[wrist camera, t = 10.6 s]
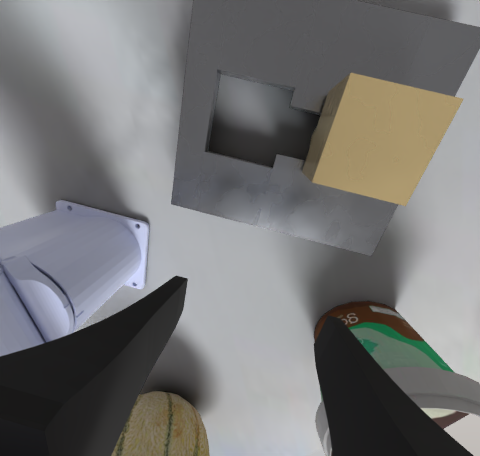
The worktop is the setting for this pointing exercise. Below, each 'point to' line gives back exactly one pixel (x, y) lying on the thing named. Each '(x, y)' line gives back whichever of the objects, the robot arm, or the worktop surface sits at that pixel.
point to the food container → (404, 365)
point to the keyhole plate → (302, 103)
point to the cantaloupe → (162, 428)
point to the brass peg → (377, 137)
